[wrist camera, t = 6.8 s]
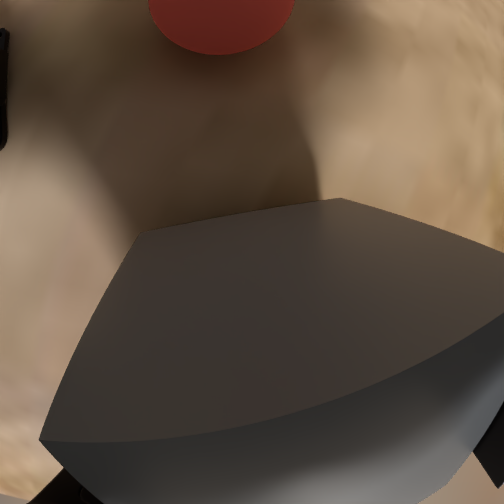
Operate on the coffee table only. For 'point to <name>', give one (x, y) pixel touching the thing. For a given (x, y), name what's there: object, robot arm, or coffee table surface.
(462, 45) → the coffee table surface
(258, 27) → the ball
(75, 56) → the coffee table surface
